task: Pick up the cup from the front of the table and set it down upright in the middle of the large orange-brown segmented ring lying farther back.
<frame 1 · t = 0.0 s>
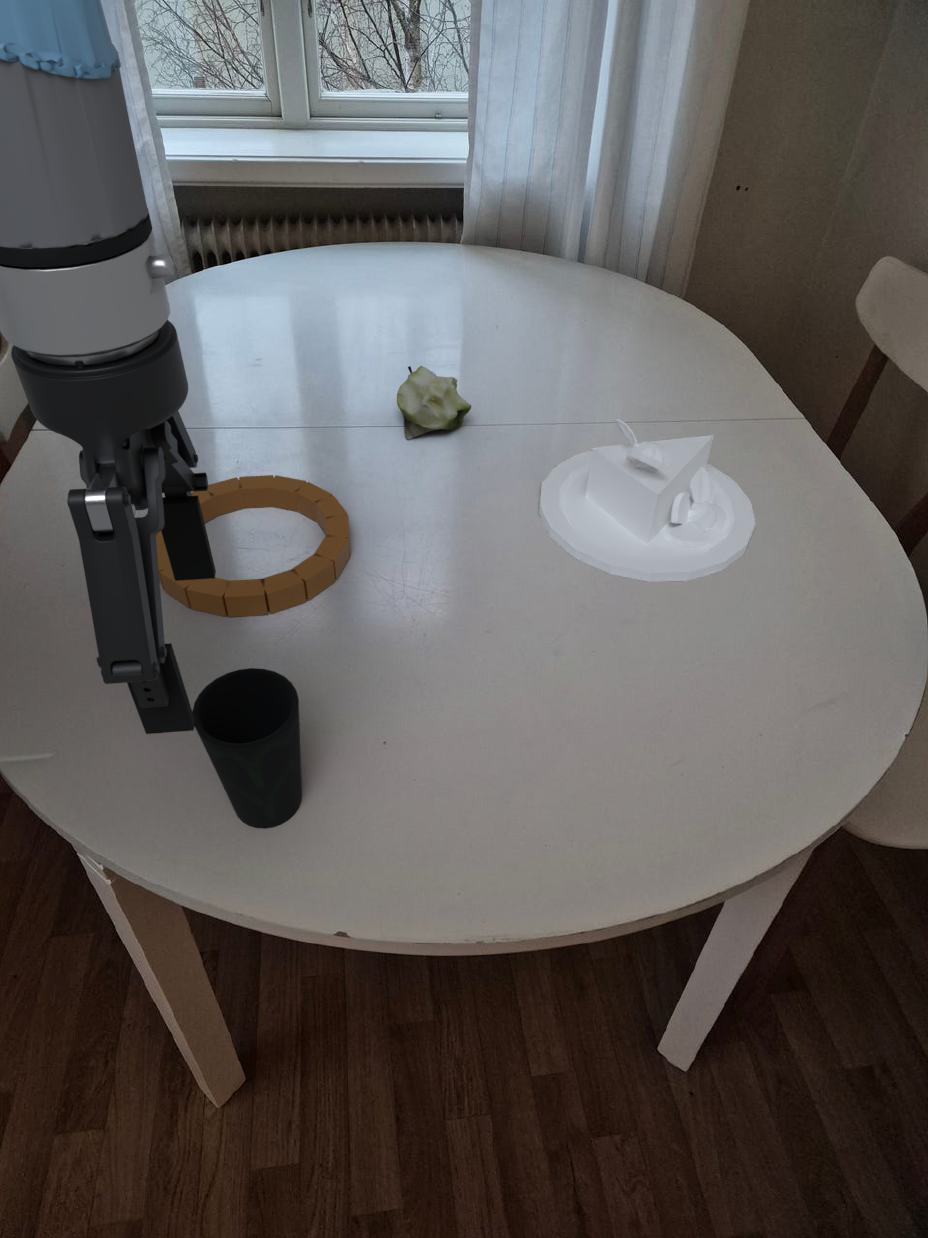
hand: (184, 645, 55), 21 cm above the table, tool pointing down, fingers open, 13 cm apart
fruit: (432, 424, 115), on the table
dish: (643, 513, 101), on the table
cup: (268, 801, 72), on the table
orange-brown segmented ring: (254, 550, 95), on the table
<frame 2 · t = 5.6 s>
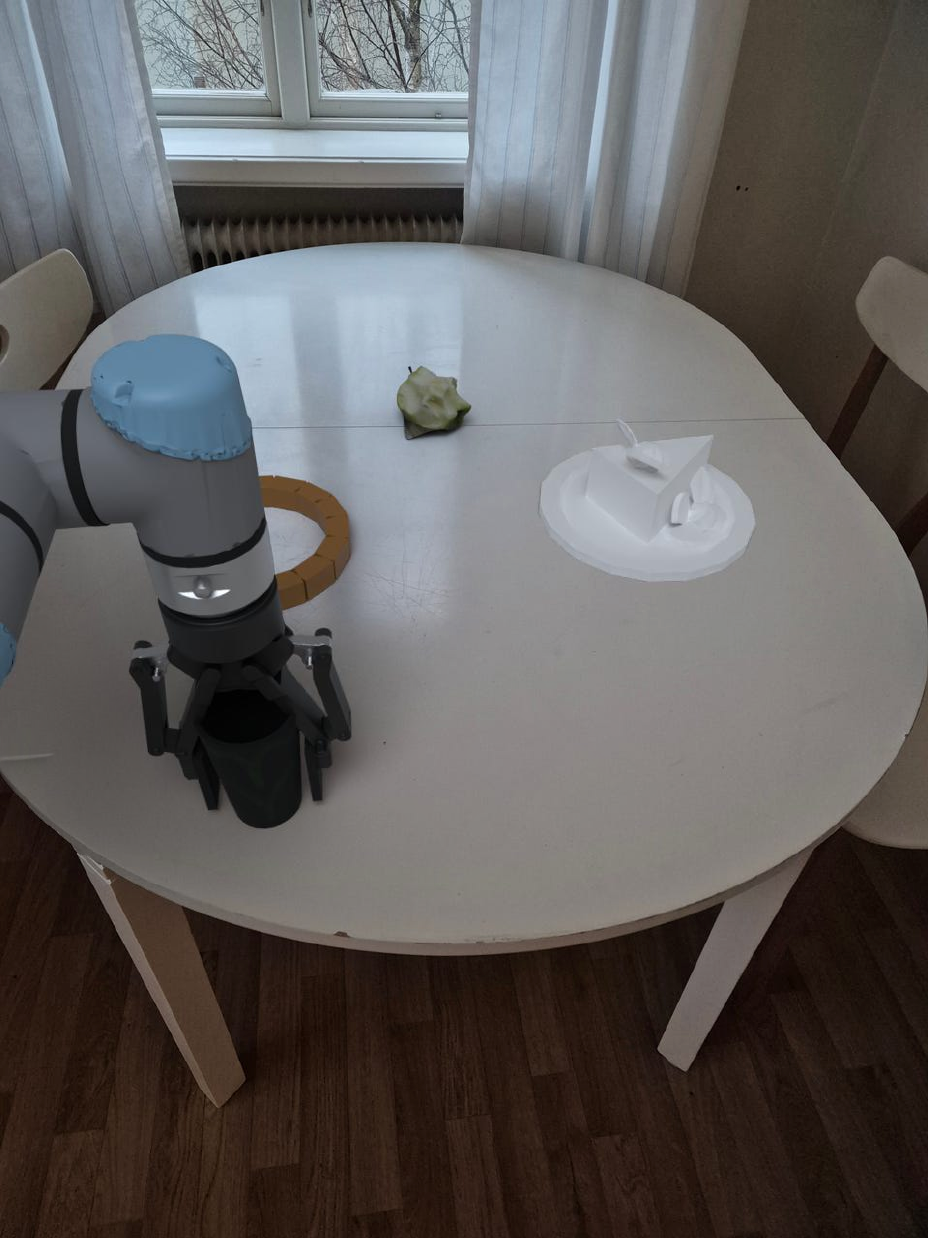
hand: (266, 791, 71), 1 cm above the table, tool pointing down, fingers closed on cup, 8 cm apart
cup: (268, 801, 72), on the table, touching gripper
everything else where it was.
when the fingers open (1 cm above the table, at t = 14.5 s): cup stays where it is, resting in orange-brown segmented ring.
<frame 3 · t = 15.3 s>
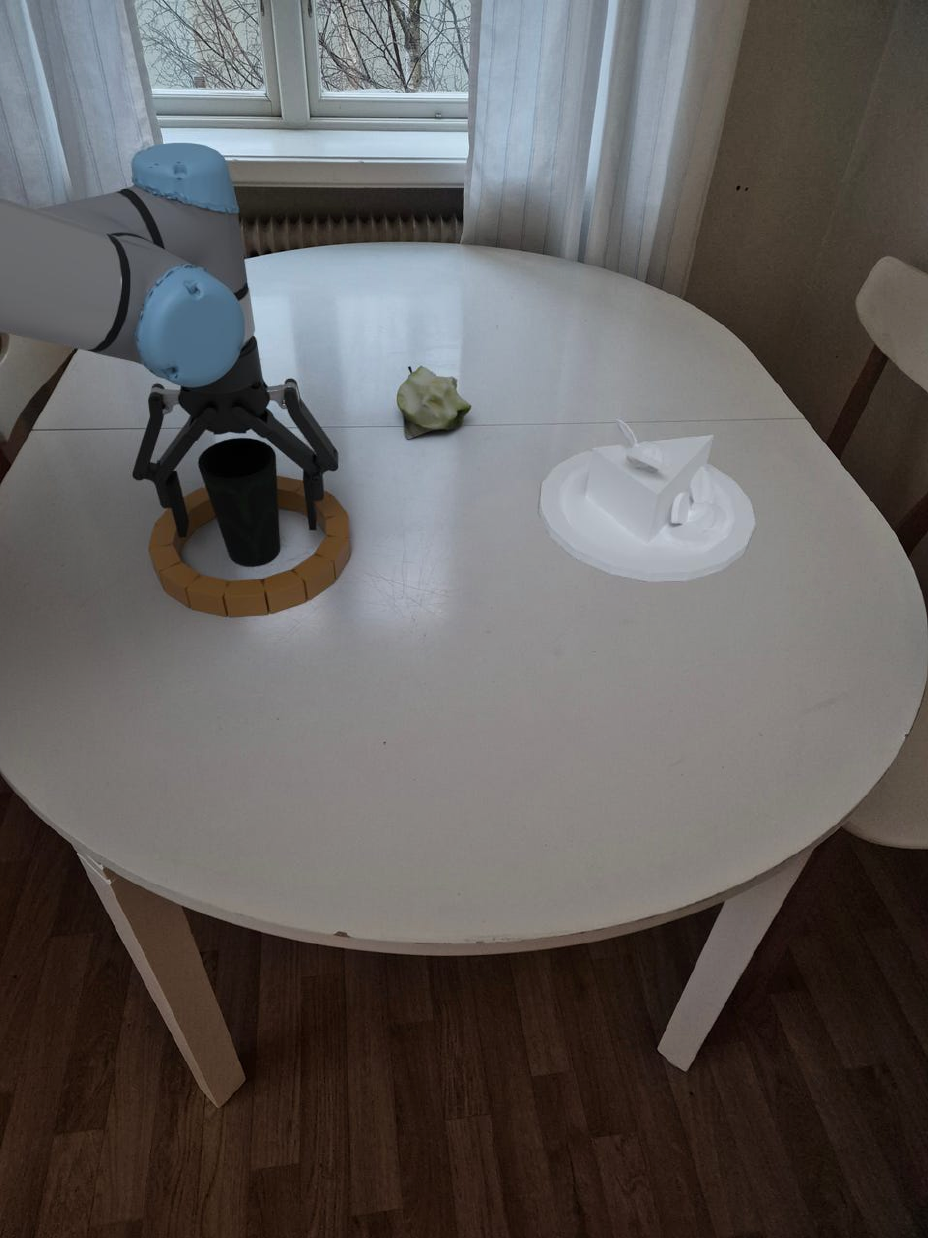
hand: (249, 526, 92), 3 cm above the table, tool pointing down, fingers open, 13 cm apart
cup: (254, 551, 95), resting in orange-brown segmented ring
everything else where it was.
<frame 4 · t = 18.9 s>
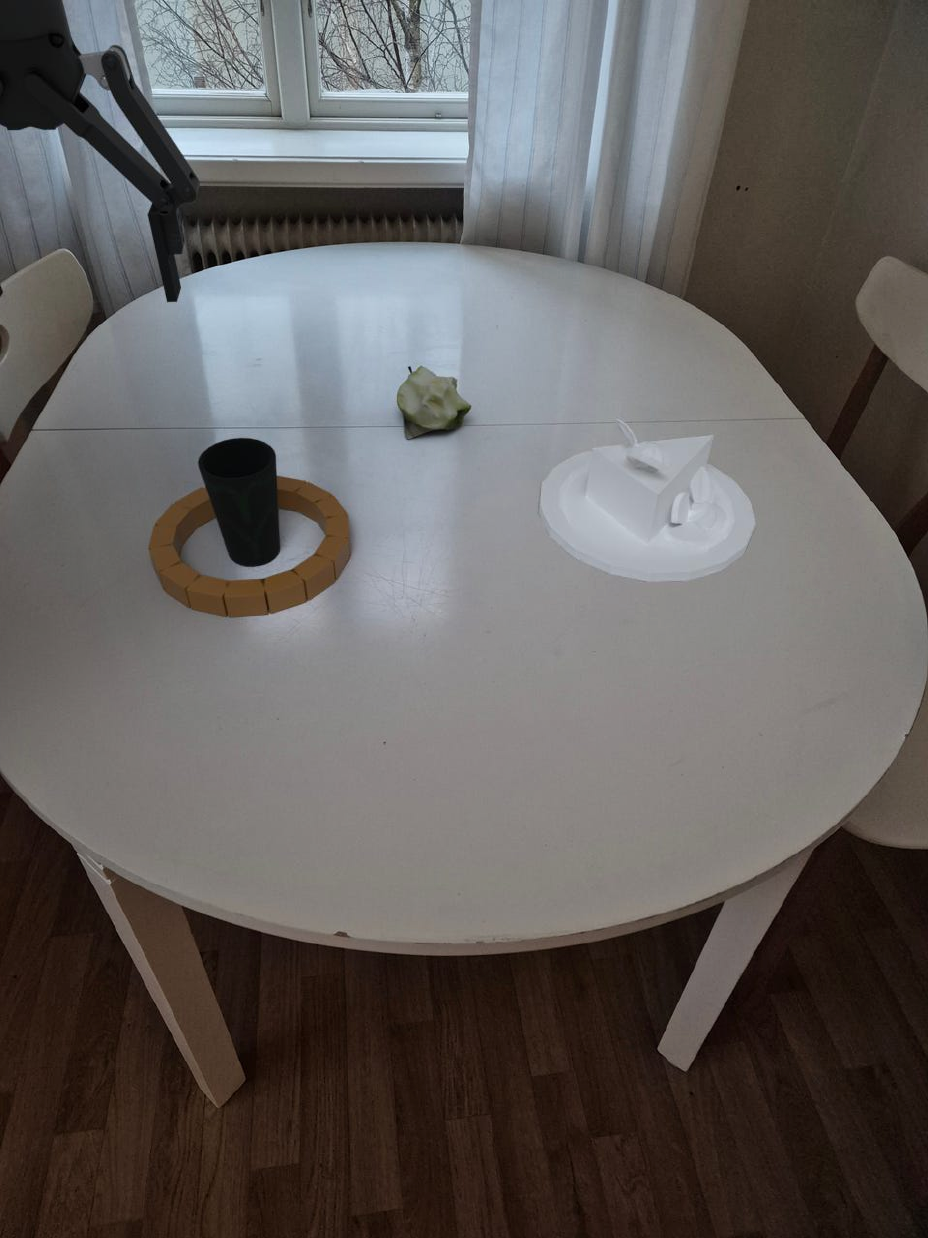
hand: (84, 297, 67), 32 cm above the table, tool pointing down, fingers open, 13 cm apart
nothing on the table moved.
at the end: cup 0.1 cm off-centre on the orange-brown segmented ring, point 0.0 cm above the orange-brown segmented ring's base; cup tilted 0° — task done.
